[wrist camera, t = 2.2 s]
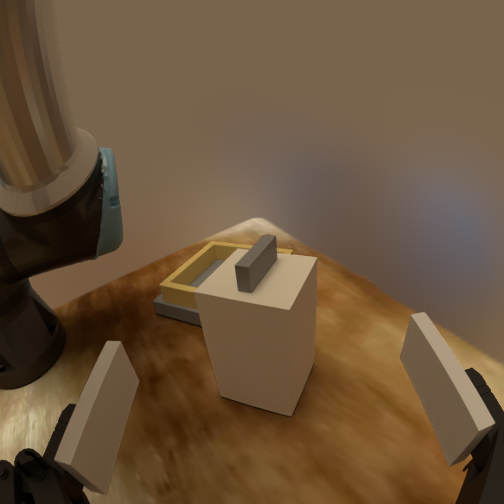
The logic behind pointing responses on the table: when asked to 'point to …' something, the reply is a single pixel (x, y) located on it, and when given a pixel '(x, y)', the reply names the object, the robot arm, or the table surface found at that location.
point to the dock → (194, 281)
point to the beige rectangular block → (261, 325)
